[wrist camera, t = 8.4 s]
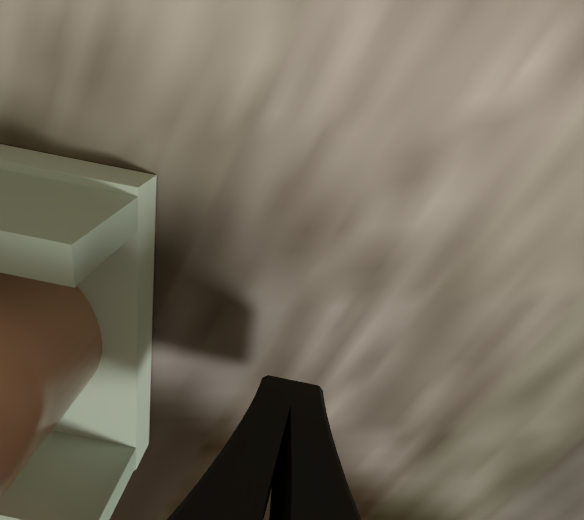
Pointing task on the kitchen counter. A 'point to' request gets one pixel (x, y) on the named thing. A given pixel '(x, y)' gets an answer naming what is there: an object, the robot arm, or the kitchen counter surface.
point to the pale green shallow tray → (107, 308)
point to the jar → (40, 363)
